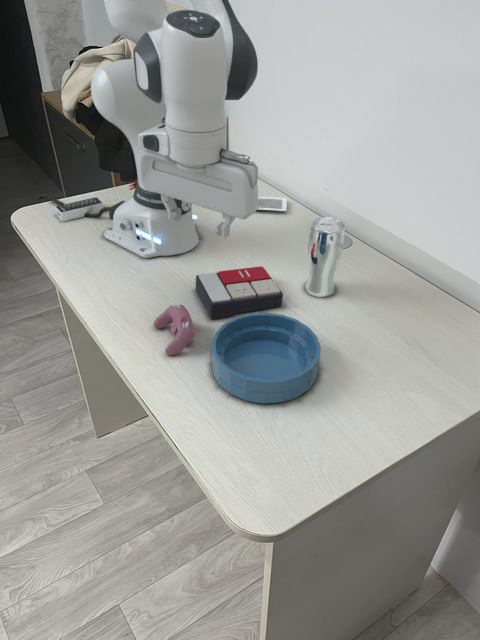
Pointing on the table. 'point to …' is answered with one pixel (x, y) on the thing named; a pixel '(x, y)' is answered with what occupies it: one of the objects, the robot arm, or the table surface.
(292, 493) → the table surface
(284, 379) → the blue bowl
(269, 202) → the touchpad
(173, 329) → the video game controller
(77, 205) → the multiport hub
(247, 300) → the red and gray box
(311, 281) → the beer glass
